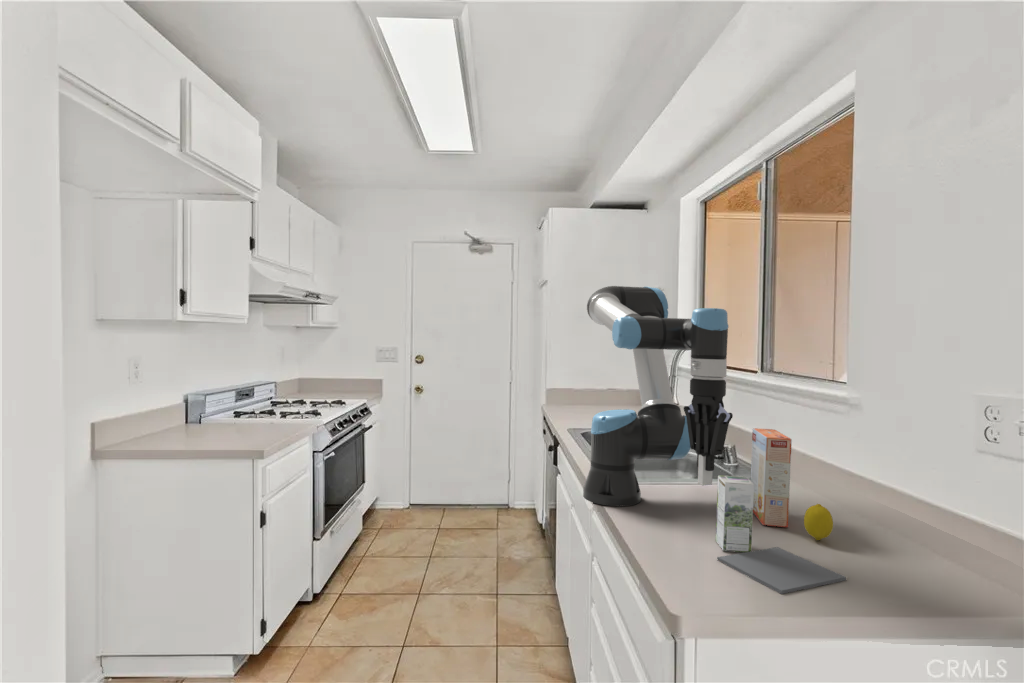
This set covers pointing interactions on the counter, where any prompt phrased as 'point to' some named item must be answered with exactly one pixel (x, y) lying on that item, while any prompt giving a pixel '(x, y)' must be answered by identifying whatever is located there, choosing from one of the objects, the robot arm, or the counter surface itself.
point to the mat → (781, 569)
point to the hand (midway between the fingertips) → (704, 484)
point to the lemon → (818, 522)
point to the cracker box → (771, 476)
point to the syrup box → (734, 513)
